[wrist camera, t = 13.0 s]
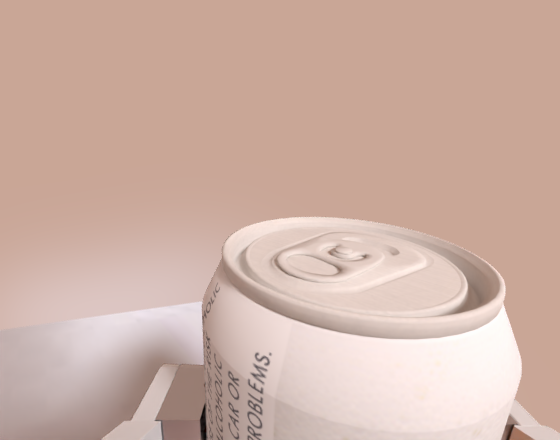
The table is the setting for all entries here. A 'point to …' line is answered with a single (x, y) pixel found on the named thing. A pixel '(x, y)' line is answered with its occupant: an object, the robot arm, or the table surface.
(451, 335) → the beer can
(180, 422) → the robot arm
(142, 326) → the table surface
